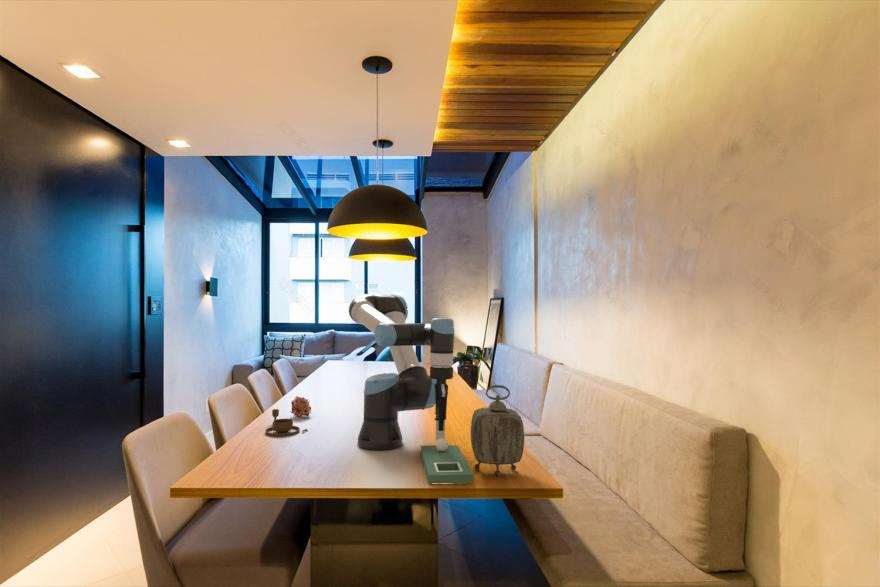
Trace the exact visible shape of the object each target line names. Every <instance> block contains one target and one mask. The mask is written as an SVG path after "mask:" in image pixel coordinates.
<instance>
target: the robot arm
mask: <svg viewBox="0 0 880 587" xmlns="http://www.w3.org/2000/svg"><path fill="white" fill-rule="evenodd" d="M348 314H349V317H350V319H351V320H352V321H354V323H356V324H358V325H362V326H364V327H365V328H366V329H368V330H369V331H370V332H371V333H373V334H374V340H375V343H376V344H377V346H380V347H386V348H387V347H389V351H390V353H391V356H392V359H393V362H394V365H395V368H396V372H397V373H396V372H389V373H387V372H385V373H378V374H375V375H371V376H369V377H367V378H366V380H365V382H364V389H363V422H362V424H361V427H360V430H359V433H358V436H357V446H358V447H360V448H361V449H365V450H370V451H388V450H389V451H390V450H394V449H398V448H399V447H401V446H402V445H403V435H402V431H401V428H400V424H399V421H398V420H399V419H398V418H399V412H407V411H416V410H418V411H419V410H427V409H431V408H433V407H434V406H435V409H434V410H435V412H434V415H435V418H434V421H435V441H437V440H438V439H440V438H444V439H446V438H445V436H446V433H445V432H446V420H447V406H448V394H449V385H448V384H447V380H452V379H453V378H454V368H453V365H454V359H456V356H455V355H454V350H455V348H454V347H455V346H454V345H455V344H454V341H455V324H454V319H452V318H445V317H444V318H441V317H439V318H438V317H435V318H432V319H431V321H430V323H428V322H421V323H420V322H419V323H417V322H416V323H415V322H414V323H412V322H411V323H408V322H407V323H406V321H407V318H408V314H409V310H408V304H407V302H406V300H405V298H404V297H402V296H400V295H397V294H396V295H395V294H376V293H375V294H373V293H372V294H371V293H364V294H361V295H359V296H356V297H354V299H352V301H351V302H350V304H349V306H348ZM416 346H418V347H420V346H422V347H423V346H428V347H429V348H430V349H429V350H430V352H429V365H430V367H429V374H428V371H427V369H426V367H424V366H422V365H420V362H419V360H418V359H419V358H418V357H417V354H416V352H415V349H414V347H416Z"/></svg>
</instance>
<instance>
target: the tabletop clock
mask: <svg viewBox="0 0 880 587" xmlns="http://www.w3.org/2000/svg"><path fill="white" fill-rule="evenodd" d="M496 388H499V389H500V388H501V389H503V390H506V391H507V393H508V394H507V395H505V396H503V397H500V395H499V394H496V395H495V397H493V396H491V395H489V394H488V392H489V391H490V390H491V389H496ZM510 394H511V392H510V390H509V388H507V386H504V385H500V384H499V385H498V384H497V385H496V384H495V385H490V386H489V387H488V388H487V389H486V390H485V395H486V397H487V398H488V399H489V400H492V401H491V402H490V403H489V406H488V407H480V408H478V409H475V410H474V411H473V414H472V417H471V424H470V443H471V448H472V453H473V455H474V458H475V460H476V462H477V463H475V464H474V465H473V468H474V470H475V471H476V470H479V469H480V468H481V467H480V465H481V463H482V464H487V465H495V466H496V467H495V468H496V470H495V471H494V475H495V477H500V476H501V471H500V468H499V465H510V469H511V471H515V470H516V469H517V465H516V464H517V463H520V462H521V460H522V458H523V454H524V447H525V430H524V422H523V419H522V417H521V415H520V414H519V413H518V412H517V411H516V410H514V409H513V408H508V407H507V406H506V405H505V403H504V402H503V400H506V399H508V398H509V397H510V396H511V395H510Z"/></svg>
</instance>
